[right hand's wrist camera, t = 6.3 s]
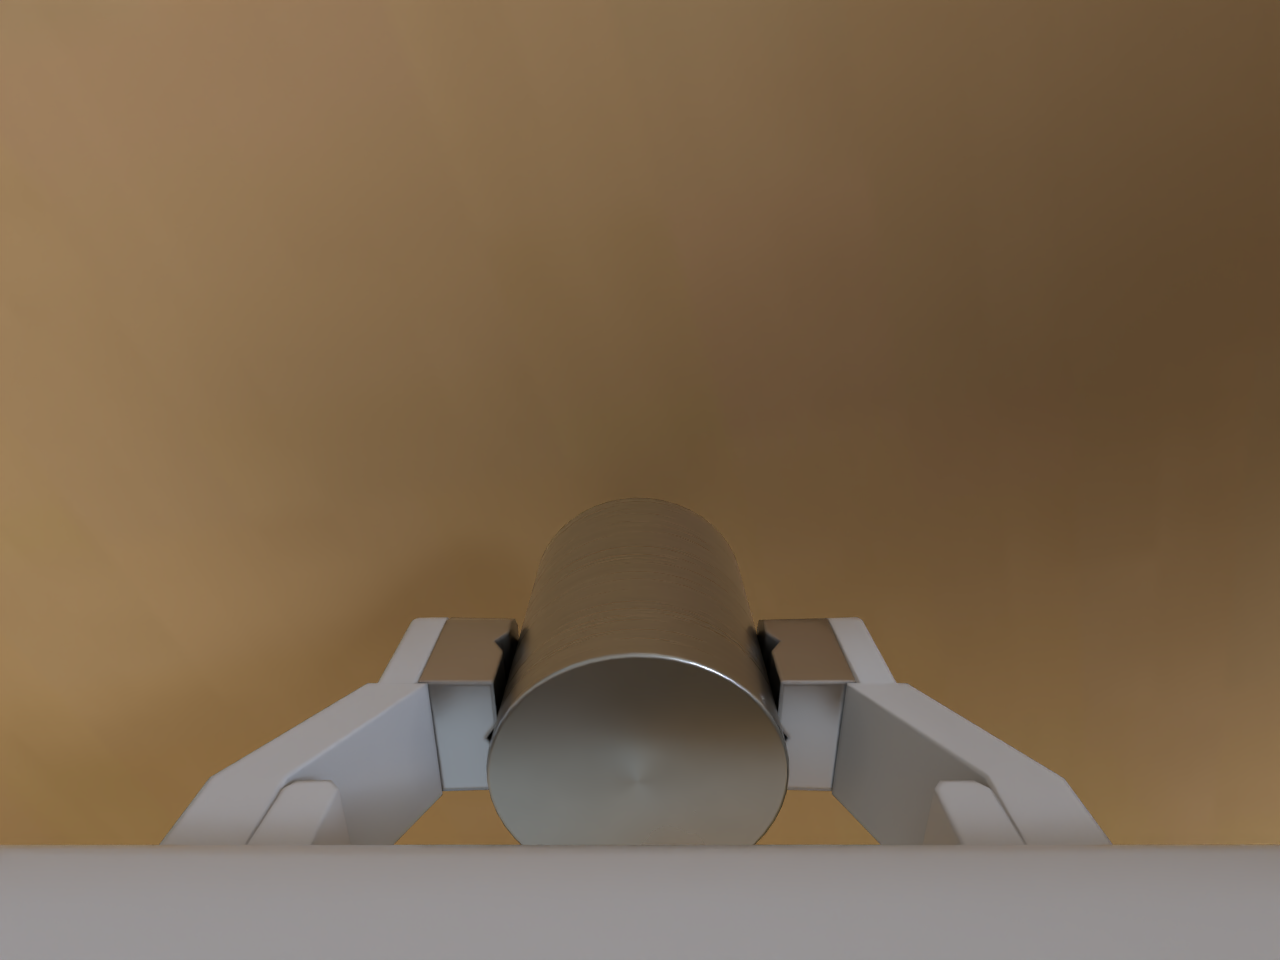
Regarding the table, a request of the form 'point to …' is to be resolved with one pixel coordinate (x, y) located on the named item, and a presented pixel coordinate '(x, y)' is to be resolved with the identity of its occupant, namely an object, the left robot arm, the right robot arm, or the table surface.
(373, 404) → the table surface
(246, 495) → the table surface
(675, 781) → the tin
